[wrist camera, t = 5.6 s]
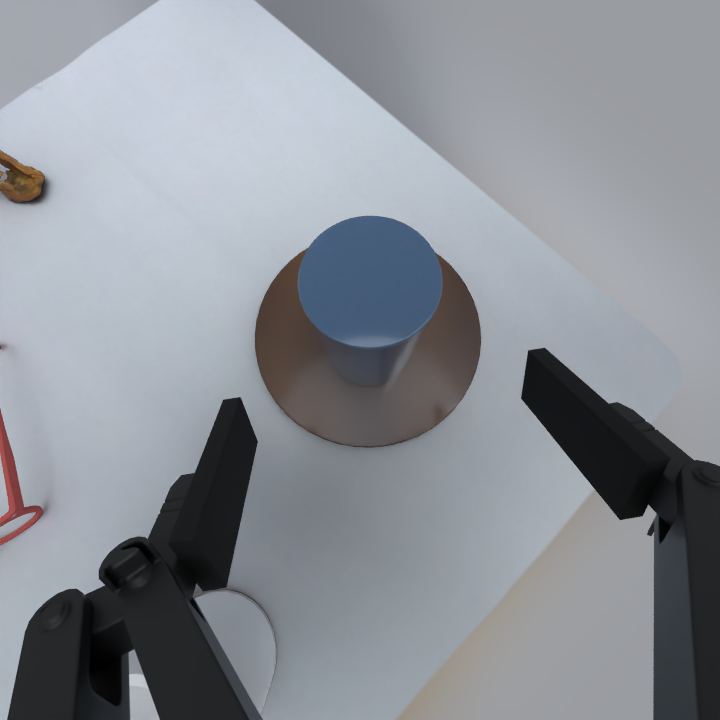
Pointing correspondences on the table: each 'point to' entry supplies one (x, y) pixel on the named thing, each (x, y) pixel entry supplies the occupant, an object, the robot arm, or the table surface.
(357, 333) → the blue cylinder
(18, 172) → the figurine
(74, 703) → the robot arm
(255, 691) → the mug
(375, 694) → the table surface
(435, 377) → the plate
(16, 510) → the red eyeglasses
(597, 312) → the table surface
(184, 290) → the table surface
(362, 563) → the table surface
